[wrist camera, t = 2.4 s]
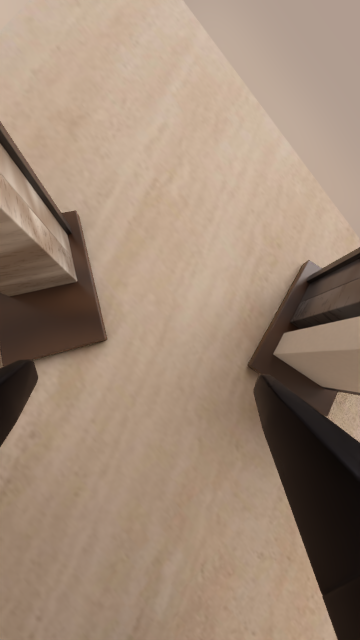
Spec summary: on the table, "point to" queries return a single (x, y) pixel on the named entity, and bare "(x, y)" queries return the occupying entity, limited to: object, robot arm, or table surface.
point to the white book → (325, 354)
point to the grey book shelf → (280, 366)
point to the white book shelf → (53, 312)
